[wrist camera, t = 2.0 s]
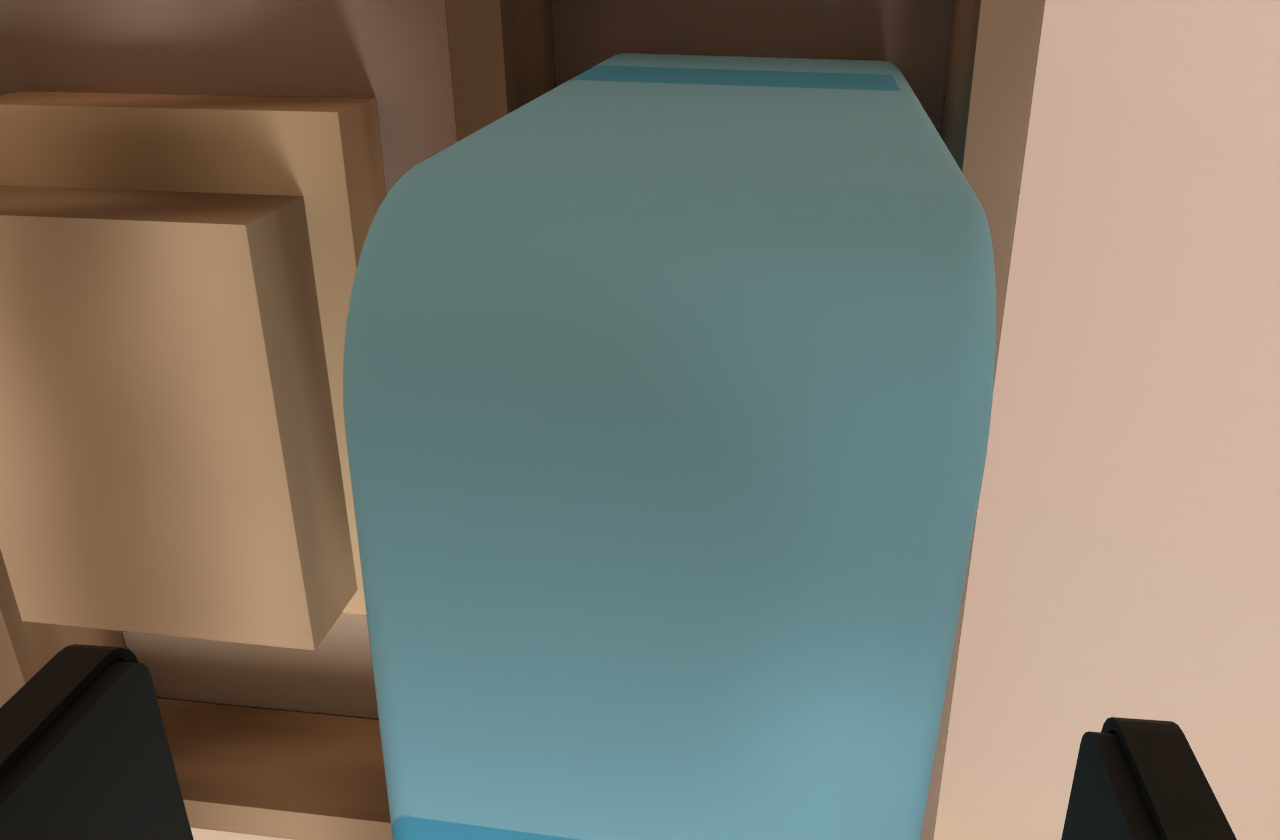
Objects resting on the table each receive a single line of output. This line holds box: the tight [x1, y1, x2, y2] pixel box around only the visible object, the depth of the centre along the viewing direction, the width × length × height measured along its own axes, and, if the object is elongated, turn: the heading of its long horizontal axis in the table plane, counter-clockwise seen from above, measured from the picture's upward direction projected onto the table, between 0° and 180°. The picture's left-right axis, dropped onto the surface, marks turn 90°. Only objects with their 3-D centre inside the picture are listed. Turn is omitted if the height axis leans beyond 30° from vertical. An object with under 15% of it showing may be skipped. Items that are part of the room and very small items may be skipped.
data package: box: [343, 53, 996, 840], centre depth 14 cm, size 12×4×12 cm, turn 179°
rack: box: [0, 0, 1045, 840], centre depth 19 cm, size 19×20×3 cm
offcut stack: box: [0, 91, 386, 650], centre depth 20 cm, size 7×10×4 cm
